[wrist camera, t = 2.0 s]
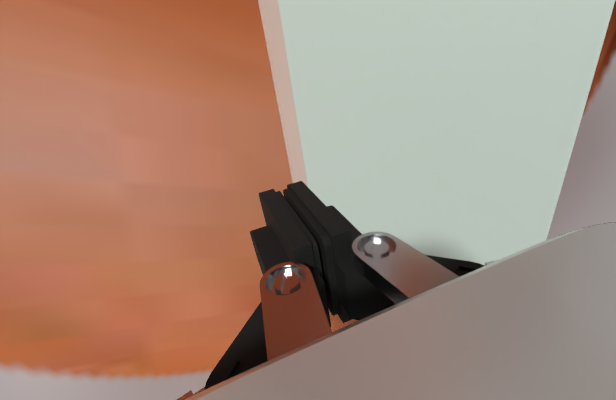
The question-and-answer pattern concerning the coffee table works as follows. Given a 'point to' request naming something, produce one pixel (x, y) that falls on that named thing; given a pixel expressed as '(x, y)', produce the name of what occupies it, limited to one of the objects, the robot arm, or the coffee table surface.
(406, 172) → the lid
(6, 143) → the coffee table surface
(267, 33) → the box
